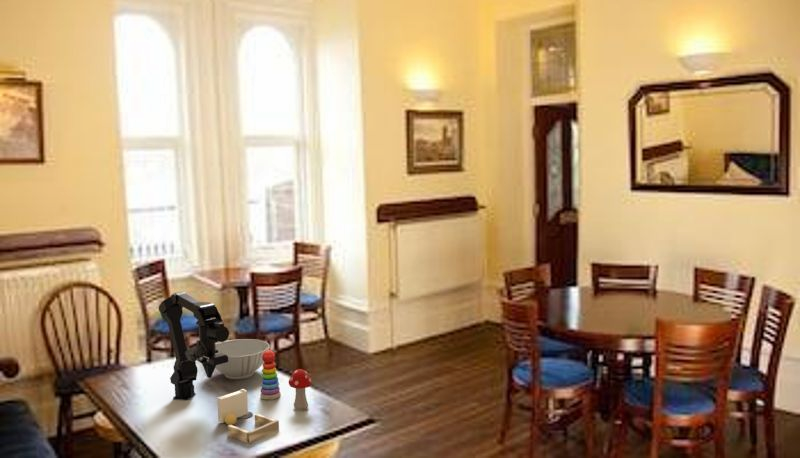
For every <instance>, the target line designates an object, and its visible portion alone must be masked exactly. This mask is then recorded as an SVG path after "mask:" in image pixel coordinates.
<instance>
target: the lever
mask: <svg viewBox="0 0 800 458" xmlns="http://www.w3.org/2000/svg"><path fill="white" fill-rule="evenodd" d="M216 400H217V401H216V402H217V418H218V422H219V423H221V424H224V423H226V422H225V418H226V416H227V415H228V414H234V415H235V416H236V418H237V419H238V417H241V416H243V415H246V414H248V412H249V409H248V391H247V390H246V389H245V388H241V389H239V390H237V391H234V392H231V393H228V394H225V395H222V396H219V397H217V399H216Z"/></svg>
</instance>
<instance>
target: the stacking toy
mask: <svg viewBox="0 0 800 458" xmlns="http://www.w3.org/2000/svg"><path fill="white" fill-rule="evenodd" d="M275 358H276V354H275V352H273V351H272V350H270V349H269V350H268V351H265V352H264V353H263V355H262V359H263V361H264V363H263V364H262V369H261V372H262V373H261V383H260V384H261V385H260V387H261V388H260V396H259V397H260V398H261V399H262V400H266V401H268V400H269V401H270V400H271V401H272V400H276V399H278V398H279V397H280V396H281V390H280V386H279V385H280V382H279V377H278V372H276V371H277V368H276V364H277V363H276V362H274V361H275V360H276V359H275Z"/></svg>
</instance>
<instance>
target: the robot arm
mask: <svg viewBox="0 0 800 458" xmlns="http://www.w3.org/2000/svg"><path fill="white" fill-rule="evenodd" d="M183 308H184V309H187V310H188V311H189V312H191V313H193V318H195V319H196V320H197V321H196V322H195V325H197V326H198V334H199V335H198V336H199V339H198V340H197V341H196V345H194V346H192V347H191V348H189V349H188V345H187V343H186V339H185V335H184V331H183V325H182V322H181V320H182V317H183V313H184V312H183V311H184V310H183ZM158 311H159V313H160V316H161V319H162V320H163V321H165V323H167V326H168V330H169V335H170V339H171V343H172V348H173V352H174V355H175V362H174V364H173V373H172V374H171V376H170V377H169V380H170V384H172V385H174V395H175V396H173V397H172V399H173V400H185V401H188V400H189V399H191V398H193V397H194V396H195V395H196V393H195V384H194V381H197V376H198V371H199V369H198V366H197V363H196V361H197V362H199V363H201V364H202V365H201V366H202V367H203V369H204V372H205V374H206V377H207V378H208V379H210V378H212V377H213V373H214V371H215V370H216V368H215V367H216V365H219V364H223V363H226V362H228V361H229V359H228V356H227V355H225V354H222V353H219V354H215V353H218V350H217V349H216V344H217V343H220V342H224V341H228V339H229V337H230V330H229V329H228V327H226V326H225V323H224V322H223V319H222V315H221V314H220V312H219V309H218V307H217V306H216V304H214V303H213V302H208V301H200V300H199V299H197V298H194V297H193V296H191V295H189V294H187V292H186V291H178V292H174V293H172V294H171V296H169V297H167V298H166V299H164V300H163V301H161V302H160V304H159V305H158Z"/></svg>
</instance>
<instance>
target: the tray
mask: <svg viewBox="0 0 800 458" xmlns="http://www.w3.org/2000/svg"><path fill="white" fill-rule="evenodd" d="M254 424H255V425H256V426H258V427H257V428H255V429H254V428H253V429H252V430H250V431H249V430H246V429H244V428H240V427H238V426H235V425H234V424H233V425H228V424H227V436H228V437H231V438H233V439H236V440H238V441H241V442H244V443H246V444H251V443H252V444H253V443H255V442H257V441H259V440H261V439H263V438H265V437H268V436H270V435H272V434H274V433H276V432H279V431H280V420H278V419H275V418H271V417H269V416H266V415H263V414H259V413H255V414H254Z"/></svg>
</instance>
